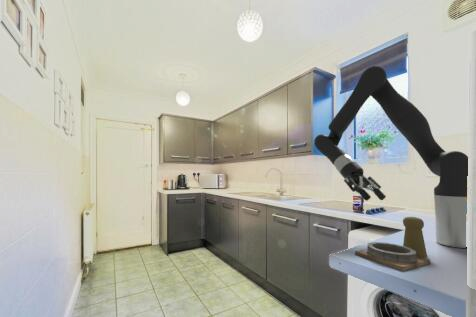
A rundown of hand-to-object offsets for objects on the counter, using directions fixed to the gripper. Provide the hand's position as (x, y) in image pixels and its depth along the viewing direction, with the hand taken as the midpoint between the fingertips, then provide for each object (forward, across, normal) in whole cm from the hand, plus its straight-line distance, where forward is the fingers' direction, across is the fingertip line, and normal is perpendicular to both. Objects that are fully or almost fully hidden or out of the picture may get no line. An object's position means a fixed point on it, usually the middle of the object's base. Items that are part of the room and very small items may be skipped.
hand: (376, 198), depth 81 cm
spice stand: (+19, -12, +3) cm, 23 cm away
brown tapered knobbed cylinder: (+19, 0, +3) cm, 20 cm away
